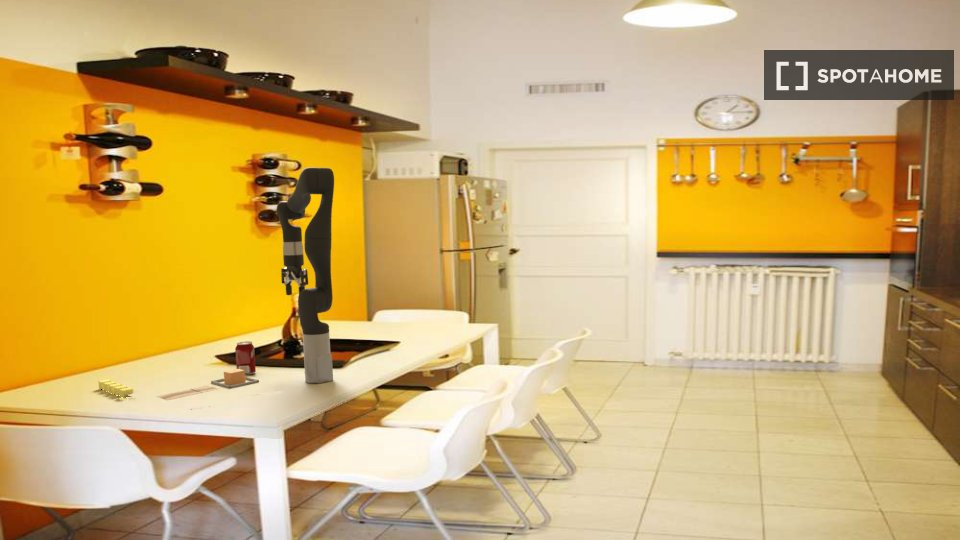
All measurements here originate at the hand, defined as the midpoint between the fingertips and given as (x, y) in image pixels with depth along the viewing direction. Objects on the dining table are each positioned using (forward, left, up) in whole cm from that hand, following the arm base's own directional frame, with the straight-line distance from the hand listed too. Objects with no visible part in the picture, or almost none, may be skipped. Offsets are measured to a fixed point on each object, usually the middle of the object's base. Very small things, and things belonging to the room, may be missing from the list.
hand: (295, 295), depth 296 cm
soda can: (+7, +19, -28) cm, 35 cm away
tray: (-8, +32, -28) cm, 43 cm away
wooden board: (-8, +49, -28) cm, 57 cm away
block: (-8, +32, -27) cm, 43 cm away
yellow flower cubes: (+20, +60, -29) cm, 69 cm away
